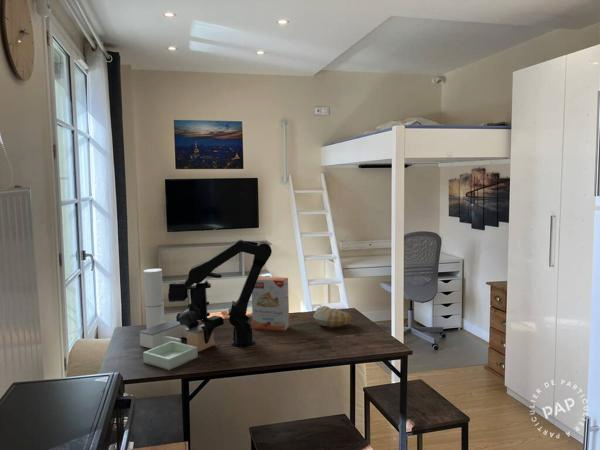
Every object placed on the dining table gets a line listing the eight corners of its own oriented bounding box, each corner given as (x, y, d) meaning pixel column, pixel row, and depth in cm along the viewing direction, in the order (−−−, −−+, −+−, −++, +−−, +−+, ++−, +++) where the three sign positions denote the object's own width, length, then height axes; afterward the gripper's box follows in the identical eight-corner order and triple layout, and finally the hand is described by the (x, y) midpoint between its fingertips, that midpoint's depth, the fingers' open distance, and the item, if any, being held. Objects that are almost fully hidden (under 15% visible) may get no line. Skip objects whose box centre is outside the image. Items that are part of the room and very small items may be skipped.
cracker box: (252, 329, 189) (250, 278, 187) (257, 324, 195) (256, 275, 193) (284, 331, 185) (283, 280, 183) (289, 327, 191) (288, 277, 189)
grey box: (214, 344, 172) (213, 326, 172) (198, 351, 166) (197, 332, 165) (203, 342, 175) (202, 324, 175) (187, 349, 169) (186, 330, 168)
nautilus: (306, 319, 203) (339, 318, 206) (318, 332, 182) (355, 330, 185) (306, 301, 202) (339, 300, 205) (318, 312, 181) (355, 310, 184)
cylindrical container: (167, 327, 194) (164, 268, 192) (160, 333, 187) (157, 271, 184) (151, 327, 195) (147, 268, 192) (143, 333, 188) (140, 272, 185)
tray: (197, 357, 161) (197, 347, 160) (169, 370, 150) (168, 359, 150) (172, 350, 167) (171, 340, 167) (143, 362, 157) (143, 352, 157)
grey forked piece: (140, 345, 173) (139, 331, 173) (180, 330, 190) (180, 317, 190) (169, 353, 165) (169, 338, 164) (209, 336, 182) (209, 323, 181)
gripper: (163, 302, 167) (166, 344, 169) (201, 309, 157) (203, 353, 159) (186, 295, 176) (188, 335, 178) (223, 301, 166) (225, 343, 168)
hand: (200, 341), depth 170 cm, fingers closed on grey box, 5 cm apart
